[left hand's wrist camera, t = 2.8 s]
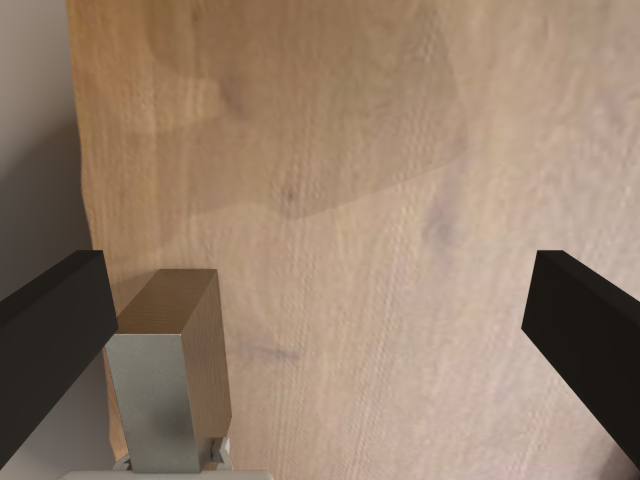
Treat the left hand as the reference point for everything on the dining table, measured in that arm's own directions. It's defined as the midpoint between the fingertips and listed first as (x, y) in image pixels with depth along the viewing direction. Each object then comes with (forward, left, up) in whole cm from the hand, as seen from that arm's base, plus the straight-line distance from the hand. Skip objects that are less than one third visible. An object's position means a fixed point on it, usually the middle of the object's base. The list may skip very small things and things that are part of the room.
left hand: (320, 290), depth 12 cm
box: (+25, -8, -28) cm, 39 cm away
